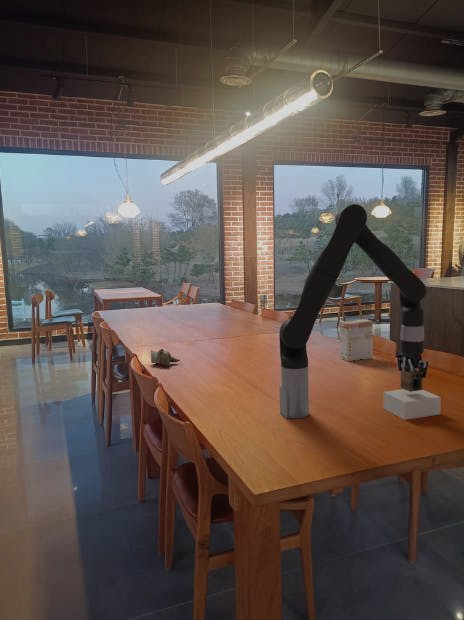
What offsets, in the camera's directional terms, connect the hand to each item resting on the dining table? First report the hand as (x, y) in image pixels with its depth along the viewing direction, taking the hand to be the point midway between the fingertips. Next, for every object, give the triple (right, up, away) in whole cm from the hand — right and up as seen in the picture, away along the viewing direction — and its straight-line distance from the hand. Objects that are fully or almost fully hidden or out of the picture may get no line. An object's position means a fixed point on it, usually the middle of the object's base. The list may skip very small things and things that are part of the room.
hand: (411, 386), depth 160 cm
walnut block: (0, -1, 0) cm, 1 cm away
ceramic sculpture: (-97, -2, +79) cm, 125 cm away
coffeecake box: (+2, +1, +78) cm, 78 cm away
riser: (0, -9, +1) cm, 9 cm away
